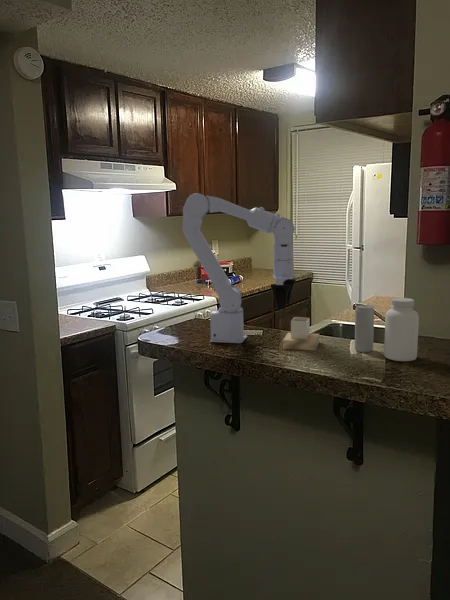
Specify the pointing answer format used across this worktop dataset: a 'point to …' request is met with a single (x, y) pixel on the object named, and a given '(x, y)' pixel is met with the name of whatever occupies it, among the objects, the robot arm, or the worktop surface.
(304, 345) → the maple block
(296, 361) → the worktop surface
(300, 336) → the box
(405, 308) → the pill bottle
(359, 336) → the beverage can
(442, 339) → the worktop surface
